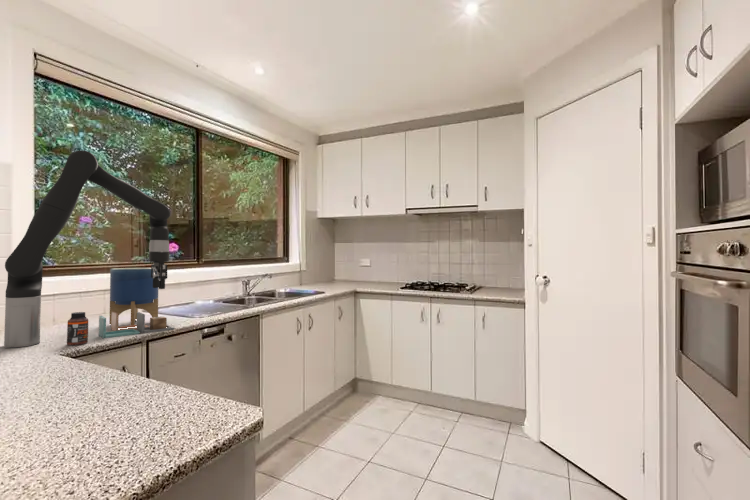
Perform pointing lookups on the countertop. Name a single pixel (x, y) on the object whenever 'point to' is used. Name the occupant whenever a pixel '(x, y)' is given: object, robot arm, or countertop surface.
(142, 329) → the gray bookend
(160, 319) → the letter cube
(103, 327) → the tray teal
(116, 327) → the pale pink holder
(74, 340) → the supplement bottle
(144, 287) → the planter
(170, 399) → the countertop surface
